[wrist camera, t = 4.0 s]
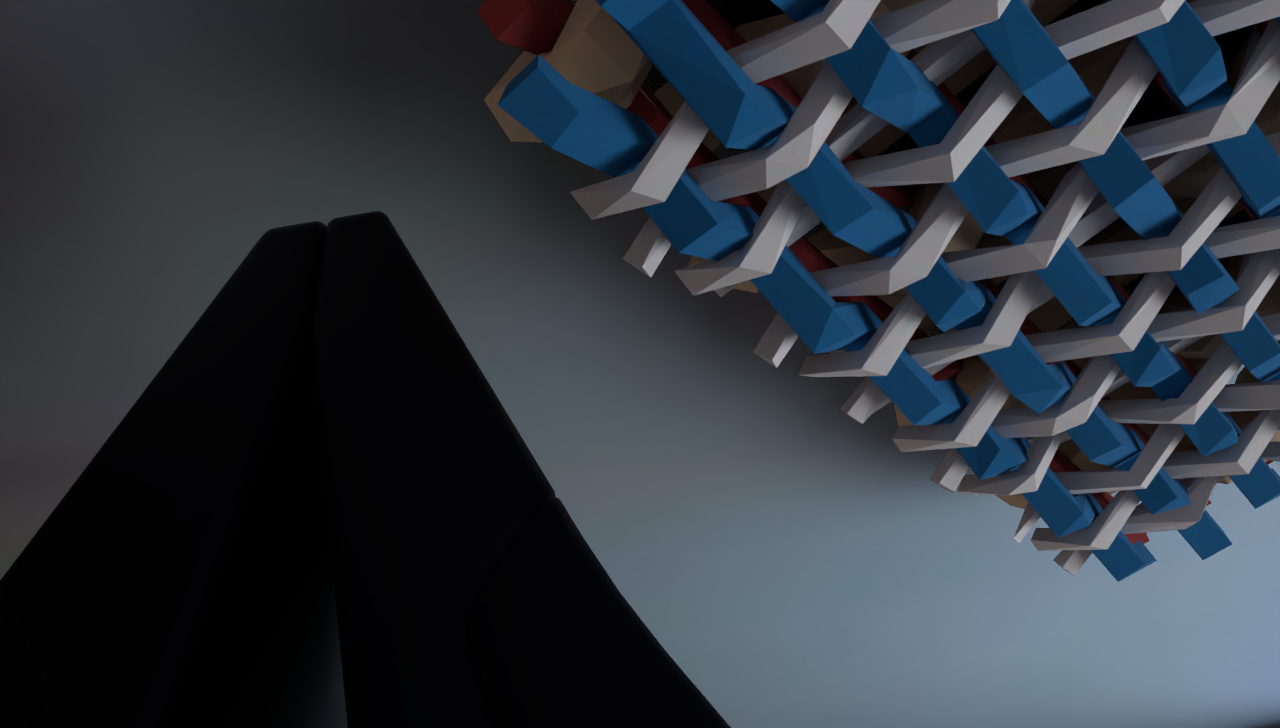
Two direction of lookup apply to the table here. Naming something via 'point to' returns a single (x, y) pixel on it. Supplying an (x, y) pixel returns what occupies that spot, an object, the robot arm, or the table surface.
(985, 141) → the woven mat
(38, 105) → the table surface
